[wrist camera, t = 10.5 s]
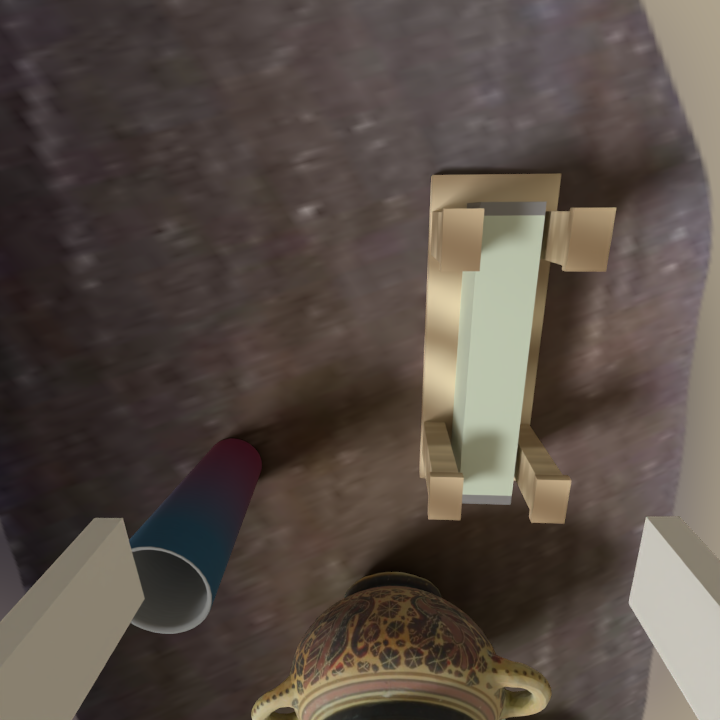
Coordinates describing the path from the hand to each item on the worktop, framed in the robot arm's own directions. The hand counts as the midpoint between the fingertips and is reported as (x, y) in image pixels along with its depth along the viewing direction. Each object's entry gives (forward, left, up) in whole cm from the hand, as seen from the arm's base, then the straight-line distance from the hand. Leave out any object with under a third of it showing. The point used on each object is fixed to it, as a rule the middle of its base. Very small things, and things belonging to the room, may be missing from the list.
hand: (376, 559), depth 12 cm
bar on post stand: (+2, +8, -27) cm, 28 cm away
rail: (+2, +8, -26) cm, 27 cm away
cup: (+14, -14, -27) cm, 33 cm away
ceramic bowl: (+30, +1, -27) cm, 40 cm away
